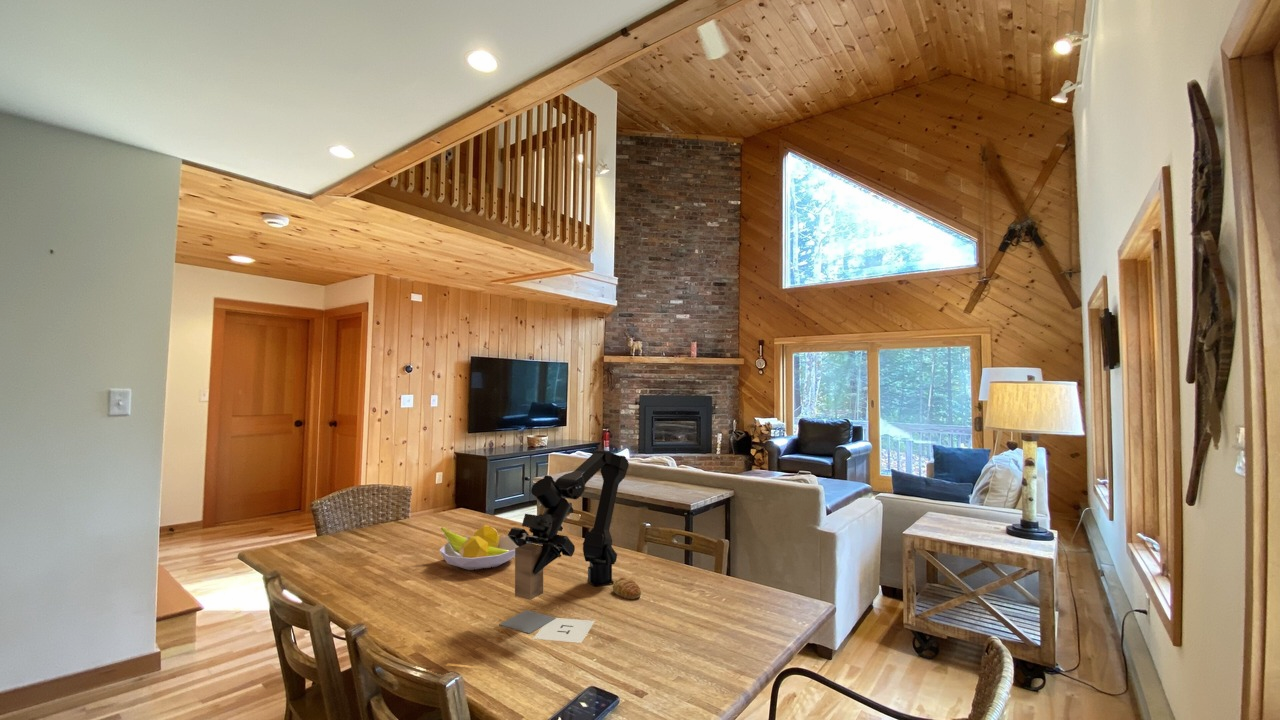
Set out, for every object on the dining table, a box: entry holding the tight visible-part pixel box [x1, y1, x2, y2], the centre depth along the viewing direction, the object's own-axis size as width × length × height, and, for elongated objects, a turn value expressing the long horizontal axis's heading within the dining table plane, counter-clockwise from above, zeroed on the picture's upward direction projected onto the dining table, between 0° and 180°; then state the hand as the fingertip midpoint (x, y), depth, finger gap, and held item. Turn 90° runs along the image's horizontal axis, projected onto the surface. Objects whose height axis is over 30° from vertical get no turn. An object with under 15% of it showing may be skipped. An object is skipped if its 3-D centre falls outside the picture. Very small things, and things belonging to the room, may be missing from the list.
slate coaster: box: [498, 609, 557, 635], centre depth 138 cm, size 10×10×1 cm
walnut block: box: [514, 543, 544, 601], centre depth 139 cm, size 5×5×12 cm
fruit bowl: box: [439, 524, 519, 571], centre depth 186 cm, size 28×27×11 cm
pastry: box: [612, 577, 642, 600], centre depth 158 cm, size 9×7×4 cm
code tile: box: [532, 617, 596, 644], centre depth 134 cm, size 12×12×1 cm
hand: (525, 571), depth 137 cm, fingers closed on walnut block, 5 cm apart
